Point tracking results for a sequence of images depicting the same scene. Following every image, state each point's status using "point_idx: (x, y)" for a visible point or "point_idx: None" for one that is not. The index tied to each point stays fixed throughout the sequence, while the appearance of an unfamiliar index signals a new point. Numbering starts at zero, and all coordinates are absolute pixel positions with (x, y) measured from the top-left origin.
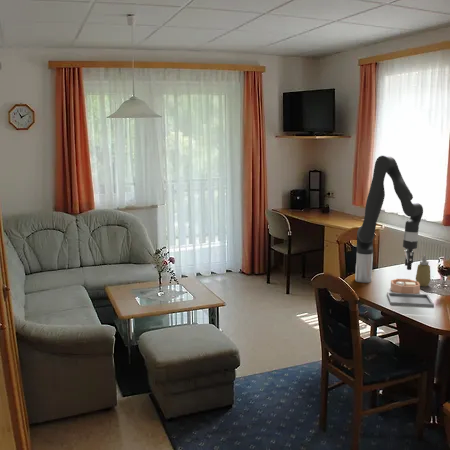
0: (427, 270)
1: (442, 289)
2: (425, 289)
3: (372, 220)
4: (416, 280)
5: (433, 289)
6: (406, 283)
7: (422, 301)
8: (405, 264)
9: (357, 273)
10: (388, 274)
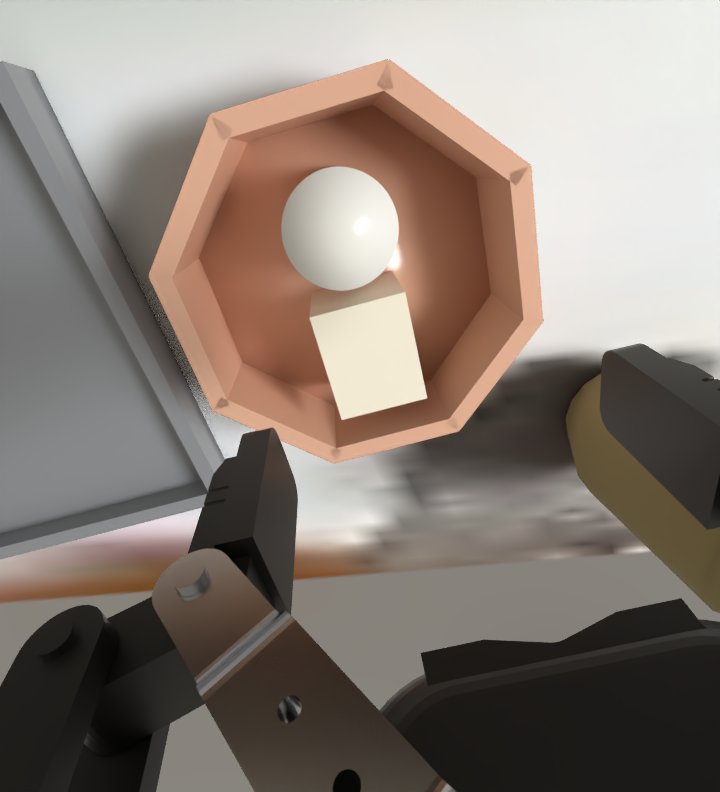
0: (670, 567)
1: (522, 546)
2: (484, 443)
3: None
4: None
5: (503, 495)
6: (339, 316)
7: (66, 466)
8: (620, 365)
9: None
10: None
